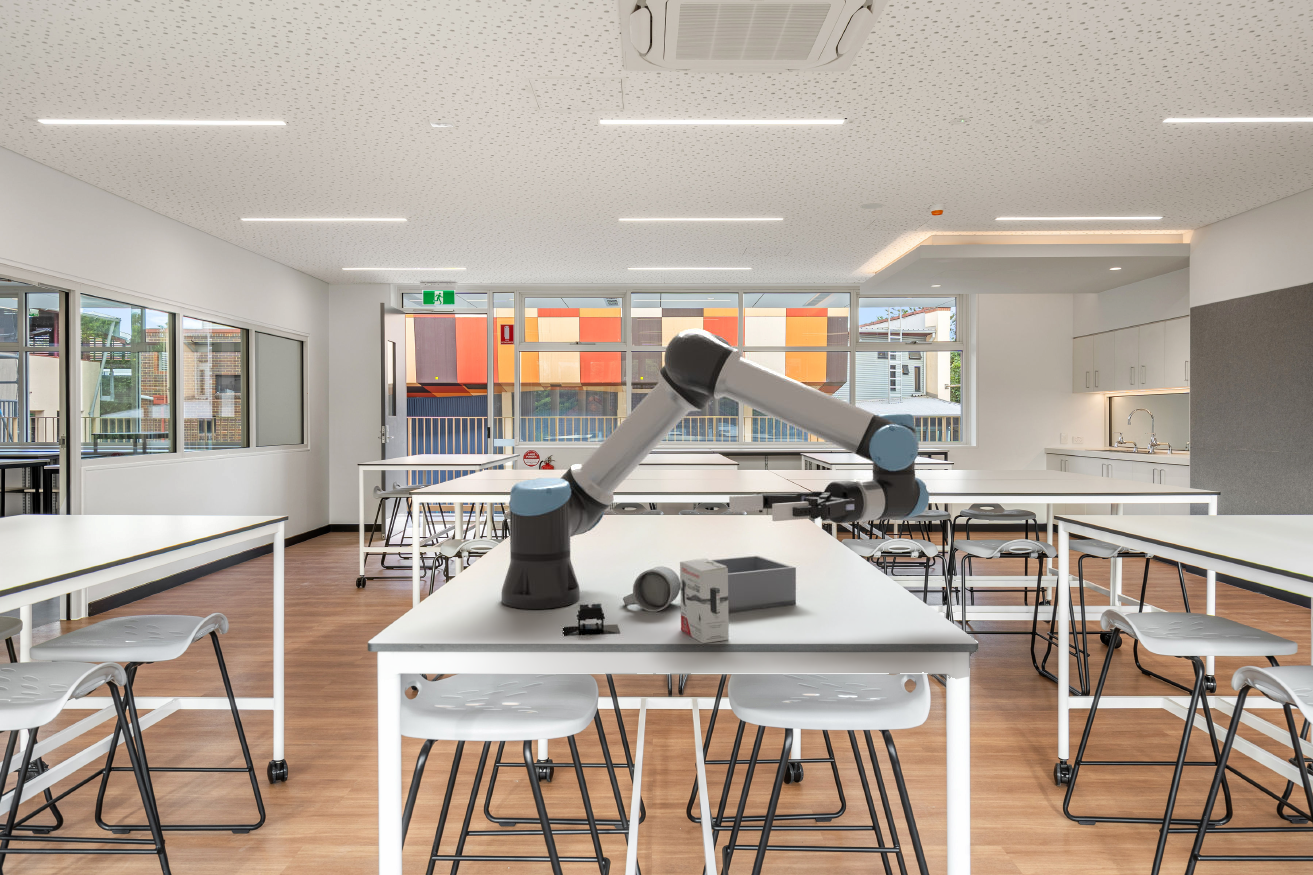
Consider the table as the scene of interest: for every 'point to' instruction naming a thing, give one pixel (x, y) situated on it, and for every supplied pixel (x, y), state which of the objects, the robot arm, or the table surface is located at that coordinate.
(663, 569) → the ceramic mug
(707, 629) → the ink box
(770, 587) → the bin
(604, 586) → the table surface
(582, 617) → the black angular piece
